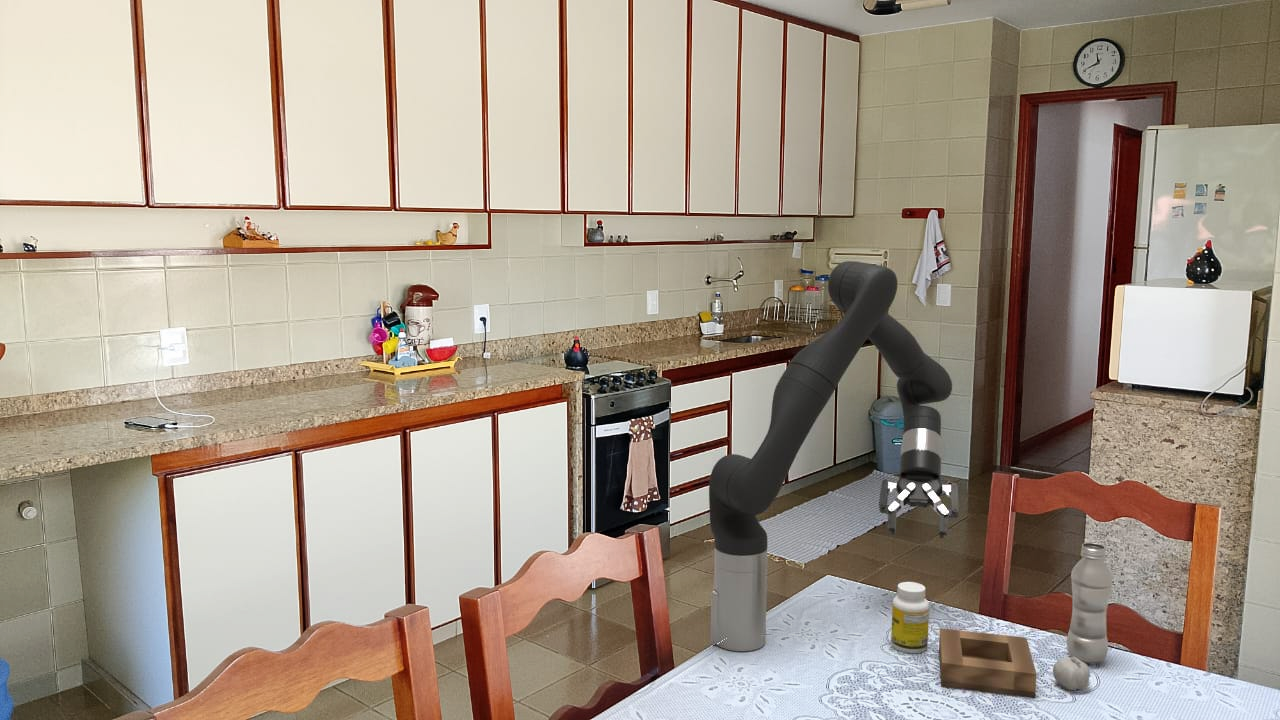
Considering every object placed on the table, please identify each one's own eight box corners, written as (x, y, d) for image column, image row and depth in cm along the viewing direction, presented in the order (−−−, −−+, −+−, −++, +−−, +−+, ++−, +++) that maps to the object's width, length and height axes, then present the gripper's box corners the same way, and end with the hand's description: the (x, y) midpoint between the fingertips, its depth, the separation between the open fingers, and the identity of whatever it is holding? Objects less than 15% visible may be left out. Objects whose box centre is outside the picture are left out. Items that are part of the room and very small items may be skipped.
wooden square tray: (941, 686, 153) (942, 662, 152) (938, 650, 166) (939, 628, 165) (1035, 698, 149) (1036, 673, 148) (1025, 660, 162) (1026, 637, 162)
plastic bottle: (1066, 664, 160) (1073, 550, 158) (1064, 648, 167) (1071, 538, 164) (1108, 671, 158) (1116, 555, 155) (1105, 654, 164) (1113, 542, 162)
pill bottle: (889, 638, 171) (892, 578, 169) (925, 641, 170) (928, 581, 168) (891, 652, 165) (894, 591, 163) (929, 656, 164) (931, 594, 162)
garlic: (1093, 696, 149) (1096, 665, 149) (1056, 693, 151) (1059, 662, 150) (1084, 679, 155) (1086, 649, 155) (1048, 676, 156) (1050, 646, 156)
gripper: (881, 446, 183) (876, 522, 174) (959, 449, 178) (958, 528, 170) (883, 465, 189) (878, 540, 180) (959, 468, 184) (958, 546, 176)
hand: (917, 534), depth 175 cm, fingers open, 8 cm apart
